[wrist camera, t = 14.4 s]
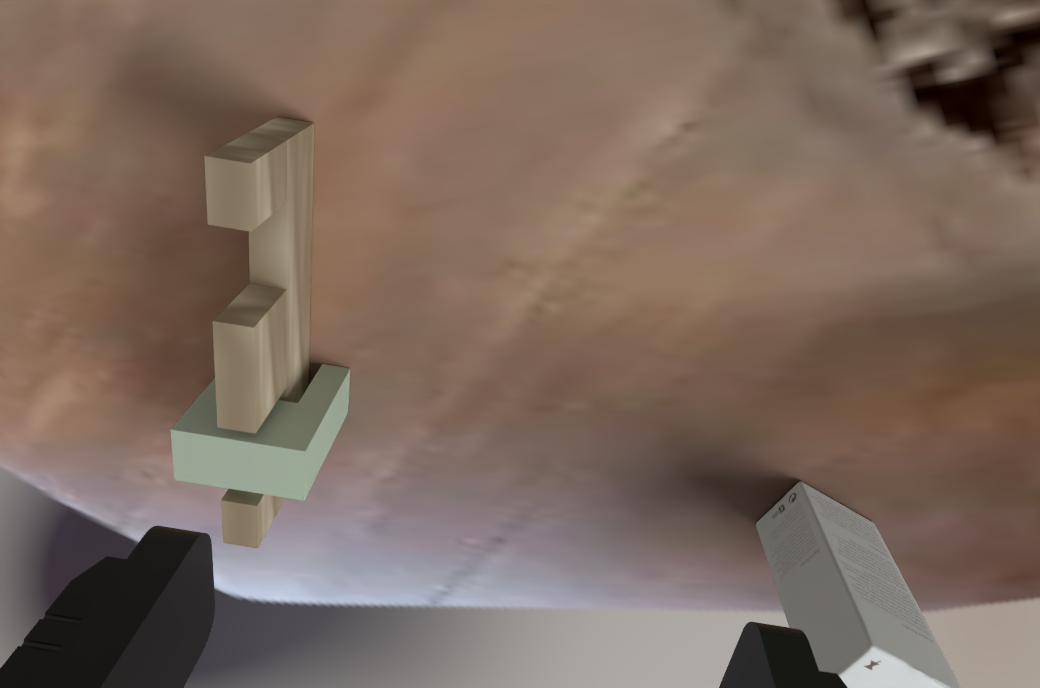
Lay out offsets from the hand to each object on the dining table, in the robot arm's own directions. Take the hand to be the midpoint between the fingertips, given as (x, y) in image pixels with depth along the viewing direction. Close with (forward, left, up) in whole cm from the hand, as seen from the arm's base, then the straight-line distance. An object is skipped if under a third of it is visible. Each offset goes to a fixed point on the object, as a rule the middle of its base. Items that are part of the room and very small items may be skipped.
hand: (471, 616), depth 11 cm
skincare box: (-20, +19, -28) cm, 40 cm away
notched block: (+12, +15, -28) cm, 34 cm away
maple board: (+12, +10, -28) cm, 32 cm away
